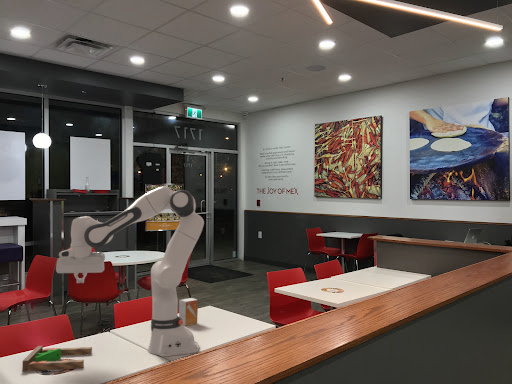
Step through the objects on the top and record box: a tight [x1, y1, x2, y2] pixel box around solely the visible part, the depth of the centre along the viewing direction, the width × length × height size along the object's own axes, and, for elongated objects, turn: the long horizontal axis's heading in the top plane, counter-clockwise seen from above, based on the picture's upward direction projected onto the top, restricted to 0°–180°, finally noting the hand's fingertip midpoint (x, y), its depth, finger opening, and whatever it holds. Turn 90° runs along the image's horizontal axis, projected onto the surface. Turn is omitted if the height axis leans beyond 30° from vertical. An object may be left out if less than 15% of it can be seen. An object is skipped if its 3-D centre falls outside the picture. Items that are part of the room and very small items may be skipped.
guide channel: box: [21, 345, 93, 372], centre depth 171 cm, size 22×17×4 cm
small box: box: [178, 297, 199, 327], centre depth 226 cm, size 8×6×13 cm
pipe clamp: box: [35, 347, 62, 362], centre depth 169 cm, size 11×4×5 cm, turn 156°
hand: (80, 282), depth 188 cm, fingers closed
